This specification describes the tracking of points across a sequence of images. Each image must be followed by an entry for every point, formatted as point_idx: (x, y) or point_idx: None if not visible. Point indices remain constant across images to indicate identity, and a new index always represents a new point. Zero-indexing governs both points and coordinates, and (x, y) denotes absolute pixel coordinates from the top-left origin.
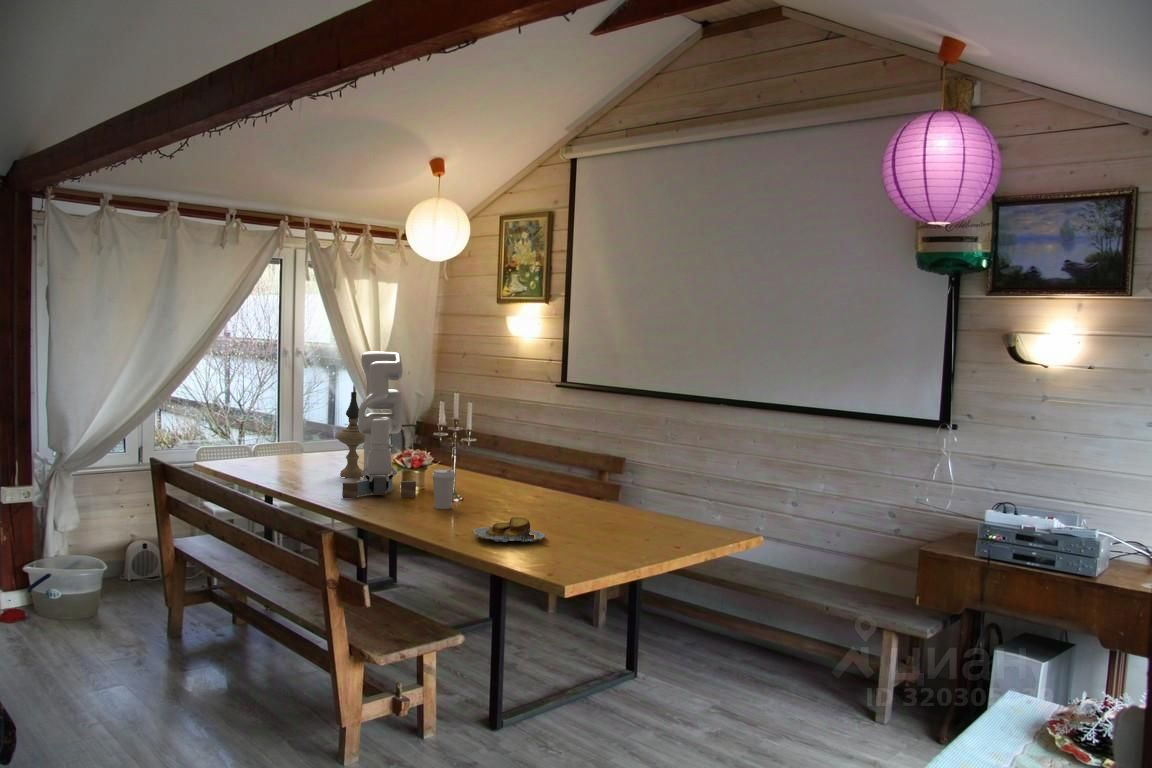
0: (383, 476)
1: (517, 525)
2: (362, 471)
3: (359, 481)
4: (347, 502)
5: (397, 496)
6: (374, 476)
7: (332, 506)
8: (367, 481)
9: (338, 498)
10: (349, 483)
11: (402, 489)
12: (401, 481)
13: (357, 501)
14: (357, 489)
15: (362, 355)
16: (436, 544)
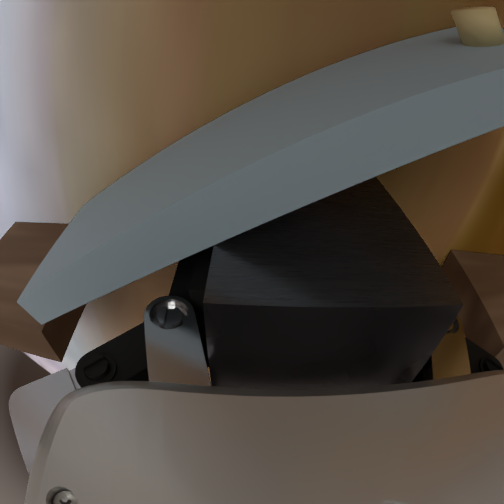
0: (406, 366)
1: None
2: (24, 438)
3: (46, 310)
4: (80, 330)
5: (433, 244)
6: (248, 356)
7: (51, 363)
8: (136, 271)
9: (3, 233)
10: (6, 343)
11: (464, 321)
12: (499, 354)
13: (125, 325)
14: (81, 311)
15: None
16: None
